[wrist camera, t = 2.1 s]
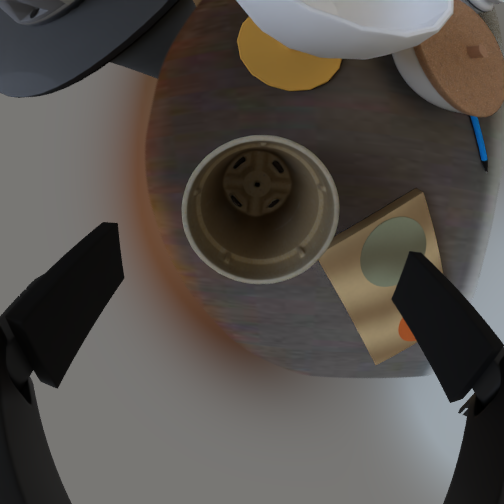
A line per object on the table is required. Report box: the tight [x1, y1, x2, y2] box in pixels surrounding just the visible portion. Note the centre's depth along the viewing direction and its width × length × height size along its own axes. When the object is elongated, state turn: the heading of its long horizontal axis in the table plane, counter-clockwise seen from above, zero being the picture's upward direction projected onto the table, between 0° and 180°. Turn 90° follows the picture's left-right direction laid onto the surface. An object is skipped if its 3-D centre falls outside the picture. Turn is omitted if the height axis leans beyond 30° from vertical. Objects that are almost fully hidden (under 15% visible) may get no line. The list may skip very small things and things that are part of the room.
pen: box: [470, 116, 488, 173], centre depth 18 cm, size 1×19×1 cm
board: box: [318, 188, 443, 365], centre depth 28 cm, size 21×13×2 cm, turn 33°
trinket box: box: [392, 0, 504, 117], centre depth 13 cm, size 11×11×9 cm
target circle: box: [398, 317, 417, 341], centre depth 29 cm, size 8×8×1 cm
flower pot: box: [182, 135, 340, 284], centre depth 20 cm, size 9×9×9 cm
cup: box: [236, 0, 454, 91], centre depth 11 cm, size 9×9×16 cm
